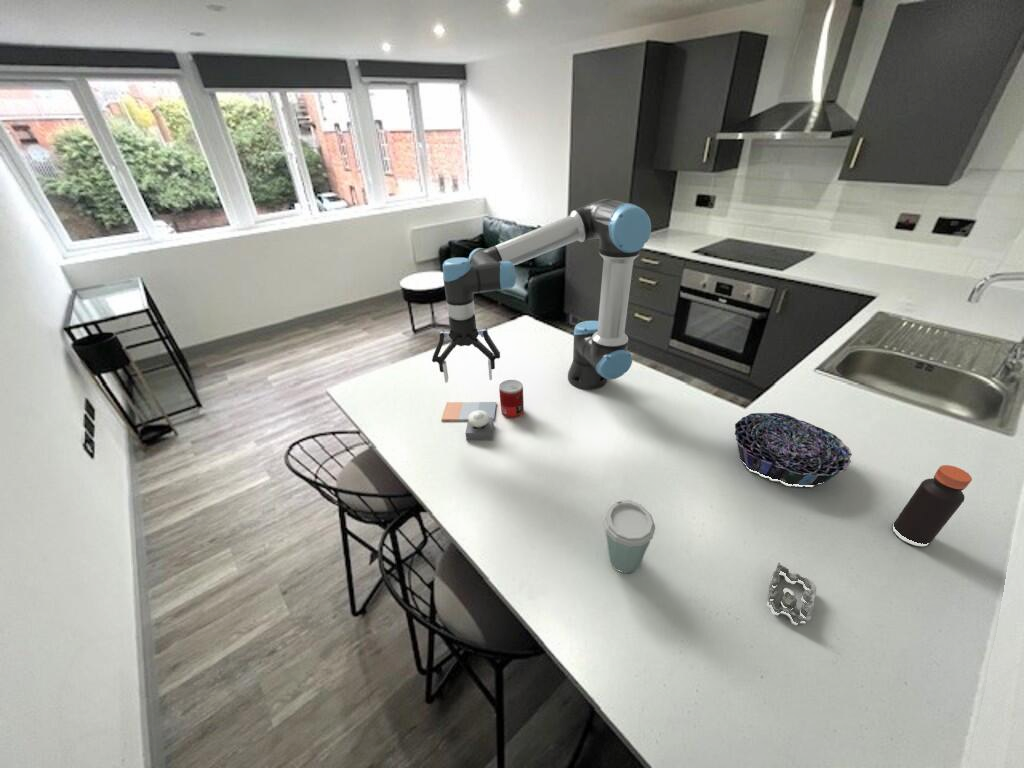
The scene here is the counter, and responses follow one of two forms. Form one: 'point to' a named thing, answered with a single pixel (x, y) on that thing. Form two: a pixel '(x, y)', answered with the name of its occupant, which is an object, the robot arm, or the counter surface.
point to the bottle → (933, 504)
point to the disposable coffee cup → (627, 534)
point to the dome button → (478, 418)
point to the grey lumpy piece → (789, 599)
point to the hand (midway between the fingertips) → (468, 379)
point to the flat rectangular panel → (466, 410)
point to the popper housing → (480, 431)
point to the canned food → (511, 398)
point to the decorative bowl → (790, 449)
